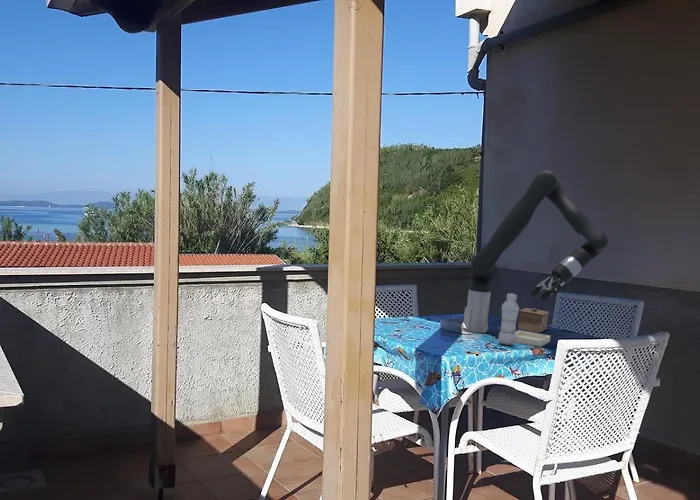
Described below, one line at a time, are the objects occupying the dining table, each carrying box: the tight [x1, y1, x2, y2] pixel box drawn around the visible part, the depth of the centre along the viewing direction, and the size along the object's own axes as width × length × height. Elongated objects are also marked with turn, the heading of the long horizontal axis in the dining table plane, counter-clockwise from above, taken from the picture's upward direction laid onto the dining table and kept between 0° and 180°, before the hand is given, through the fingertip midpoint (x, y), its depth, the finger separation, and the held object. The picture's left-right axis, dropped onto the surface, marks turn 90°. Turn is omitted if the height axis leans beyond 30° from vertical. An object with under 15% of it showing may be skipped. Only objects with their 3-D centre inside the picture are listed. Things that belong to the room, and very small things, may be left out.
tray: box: [514, 329, 551, 348], centre depth 274 cm, size 16×13×2 cm
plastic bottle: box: [498, 292, 520, 346], centre depth 262 cm, size 6×7×20 cm
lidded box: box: [517, 307, 550, 333], centre depth 304 cm, size 13×11×9 cm
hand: (536, 296), depth 263 cm, fingers open, 8 cm apart
